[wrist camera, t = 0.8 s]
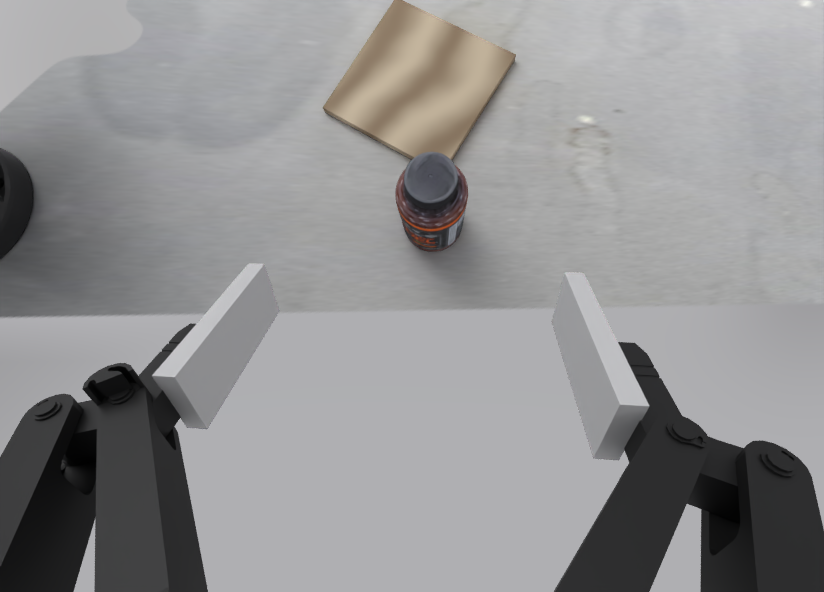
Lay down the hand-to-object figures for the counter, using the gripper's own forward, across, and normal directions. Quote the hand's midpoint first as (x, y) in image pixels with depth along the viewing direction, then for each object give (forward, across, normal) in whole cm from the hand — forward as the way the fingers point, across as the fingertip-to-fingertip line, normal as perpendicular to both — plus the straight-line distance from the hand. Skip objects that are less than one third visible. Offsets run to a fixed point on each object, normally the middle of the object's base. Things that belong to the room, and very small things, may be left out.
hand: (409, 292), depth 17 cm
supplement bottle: (+22, 0, -7) cm, 23 cm away
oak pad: (+32, -2, +4) cm, 33 cm away
